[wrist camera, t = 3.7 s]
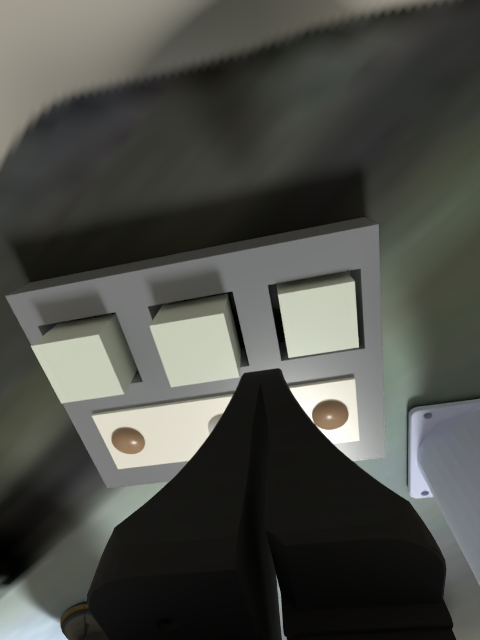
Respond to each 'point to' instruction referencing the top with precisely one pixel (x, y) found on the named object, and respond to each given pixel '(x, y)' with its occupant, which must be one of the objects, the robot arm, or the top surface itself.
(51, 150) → the top surface
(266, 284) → the button board
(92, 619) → the apothecary jar
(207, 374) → the middle button
